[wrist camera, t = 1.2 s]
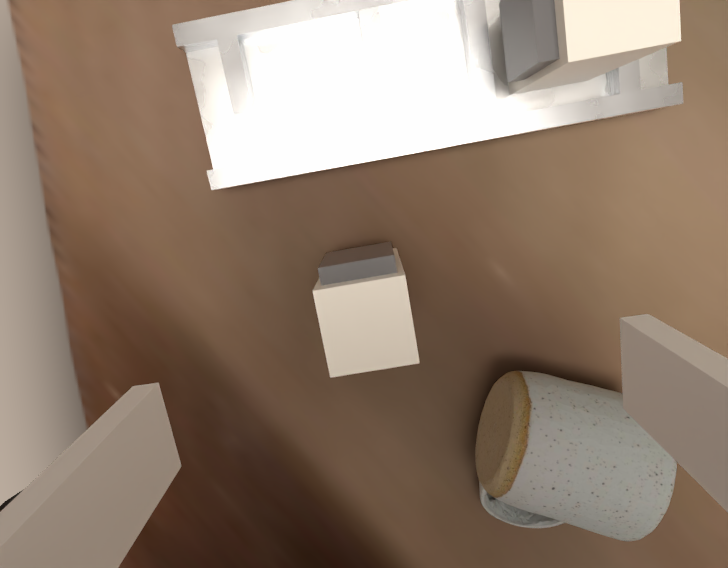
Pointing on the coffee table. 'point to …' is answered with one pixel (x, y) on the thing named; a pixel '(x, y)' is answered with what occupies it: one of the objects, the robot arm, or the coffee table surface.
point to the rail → (377, 85)
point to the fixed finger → (581, 38)
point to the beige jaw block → (364, 310)
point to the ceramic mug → (569, 459)
